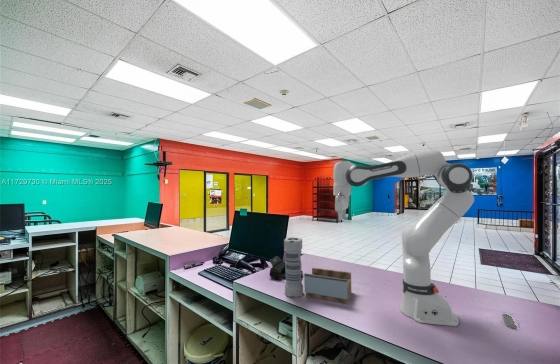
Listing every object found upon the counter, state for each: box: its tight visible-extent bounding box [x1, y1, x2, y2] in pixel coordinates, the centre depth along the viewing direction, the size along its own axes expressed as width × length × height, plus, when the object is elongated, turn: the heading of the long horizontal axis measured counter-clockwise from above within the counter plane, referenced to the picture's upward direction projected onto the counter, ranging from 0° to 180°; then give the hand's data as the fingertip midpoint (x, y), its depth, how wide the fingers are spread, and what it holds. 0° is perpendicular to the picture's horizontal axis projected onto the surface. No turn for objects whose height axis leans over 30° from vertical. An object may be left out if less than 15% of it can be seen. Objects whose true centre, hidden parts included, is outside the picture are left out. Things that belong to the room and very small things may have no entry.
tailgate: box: [303, 272, 347, 299], centre depth 125 cm, size 22×2×9 cm, turn 66°
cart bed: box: [305, 267, 352, 305], centre depth 132 cm, size 22×14×11 cm, turn 66°
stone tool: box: [502, 313, 517, 330], centre depth 104 cm, size 14×1×5 cm
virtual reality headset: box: [268, 255, 304, 281], centre depth 160 cm, size 19×22×10 cm
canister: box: [283, 236, 304, 298], centre depth 134 cm, size 10×10×30 cm
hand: (342, 218), depth 127 cm, fingers open, 8 cm apart
